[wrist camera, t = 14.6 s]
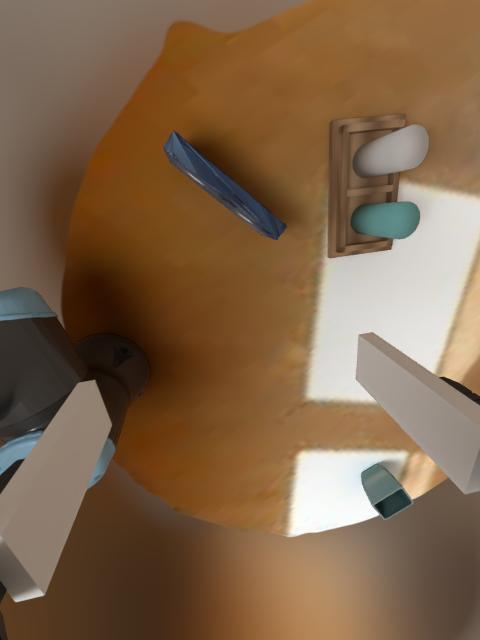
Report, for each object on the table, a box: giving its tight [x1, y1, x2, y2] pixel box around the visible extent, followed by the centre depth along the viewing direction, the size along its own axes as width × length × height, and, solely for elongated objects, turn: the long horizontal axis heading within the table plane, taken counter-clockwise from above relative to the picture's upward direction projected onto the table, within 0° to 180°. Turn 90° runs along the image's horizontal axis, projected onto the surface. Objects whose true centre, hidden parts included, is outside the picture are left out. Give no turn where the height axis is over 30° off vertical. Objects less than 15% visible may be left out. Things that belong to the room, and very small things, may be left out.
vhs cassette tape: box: [163, 130, 287, 240], centre depth 39 cm, size 18×3×10 cm, turn 52°
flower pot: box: [361, 464, 414, 520], centre depth 71 cm, size 9×9×9 cm
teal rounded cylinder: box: [350, 202, 420, 239], centre depth 43 cm, size 5×5×10 cm
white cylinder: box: [352, 125, 429, 178], centre depth 40 cm, size 5×5×10 cm
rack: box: [328, 114, 405, 258], centre depth 46 cm, size 12×21×2 cm, turn 6°
